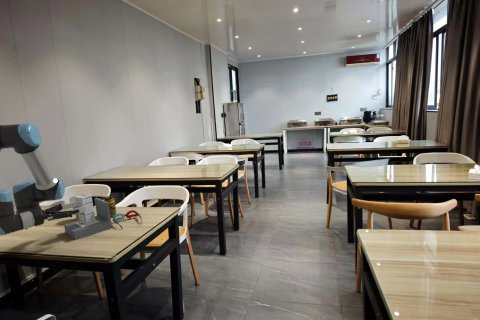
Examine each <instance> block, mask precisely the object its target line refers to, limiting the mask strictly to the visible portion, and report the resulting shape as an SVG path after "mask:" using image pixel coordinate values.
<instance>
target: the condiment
mask: <svg viewBox="0 0 480 320" xmlns="http://www.w3.org/2000/svg"><path fill="white" fill-rule="evenodd" d="M103 200H104V201H106V202H108V203H109V210H110V217H111V219H113V216H114V215H115V214H117V208H116V202H115V198H114V196H113V195H108V196H106V195H105V196H104V197H103ZM116 218H119V216H117V217H116Z"/></svg>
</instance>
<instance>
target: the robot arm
mask: <svg viewBox="0 0 480 320" xmlns="http://www.w3.org/2000/svg"><path fill="white" fill-rule="evenodd" d="M41 143H42V135H41V132H40V130H39V128H38V127H37V126H36V125H35V124H33V123H24V122H23V123H19V124H18V123H16V124H0V152H1V151H2V150H4V149H13V150H14V152H15V153H16V154H18V155H20V156H21V157H22V159H23V161H24V163H25V164H26V166H27V168H28V170H29V172H30V173H31V175H32V177H33V179H32V180H27V181H22V182H20V183H16V184H14V185H13V186H12V193H11V191H10V190H9V189H0V237H1V236H6V235H8V234H13V233H15V232H18V231H19V232H20V231H23V230H25V231H27V230H28V229H30V228H33V227H38V226H42V225H43V224H44V223H45V220H47V222H51V221H55V220H61V219H66V218H67V219H69V218H73V216H74V215H75V214H79V213H82V212H86V207H85V206H83V207H79V208H75V209H73V208H74V207H77V206H76V201H73V202H69V203H64V204H62V203H58V204H56V205H54V206H50V207H48V208H45V209H42V207H41V205H40V202H51V201H58V200H62V199H63V198H64V195H65V192H66V191H65V190H66V187H65V181H64V180H62V179H58V177H57V176H56V175H53V174H52V172H51V170H50V168H49V166H48V164H47V162H46V160H45V158H44V156H43V154H42V152H41V150H40V146H41ZM12 195H13V196H12ZM12 197H13V198H12ZM13 200H14V201H13ZM14 205H15V207H14ZM69 209H70V210H69ZM15 210H16V211H15ZM75 216H76V215H75Z"/></svg>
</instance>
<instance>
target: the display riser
mask: <svg viewBox="0 0 480 320" xmlns="http://www.w3.org/2000/svg"><path fill="white" fill-rule="evenodd" d="M94 206H95V211H96V215H95V220H96V221H94V222H92V223H90V224H80V223H79V220H77V221H73V222H70V223H66V224H63V227H64V228H63V229H64V233H66V235H68V236H70V237H71V238H72V239H74V240H79V239H83V238H85V237H86V238H87V237H88V236H91V235H95V234H98V233H101V232H103V231H107V230H109V229H110V230H111V229H113V225H112V218H111V217H110V210H109V203H108V202H106V201H104V199H101V198H98V197H94Z"/></svg>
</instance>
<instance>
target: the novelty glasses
mask: <svg viewBox="0 0 480 320" xmlns="http://www.w3.org/2000/svg"><path fill="white" fill-rule="evenodd" d="M117 216H118V217H117ZM119 216H120V217H119ZM136 217H139V218H140V221H141V222H140V224H143V222H142V221H143V219H142V215H141V214H140V213H139V212H137V211H136V210H135V209H131V210H128V211H127V212H126V213H125V214H123V213H121V212H119V213H117V212H116V214H115V215H114V216H113V218H112V222H113V223H115V224H117V225H118V226H119V227H120V228H121V230H123V229H124V228H123V227H122V225H121V224H120V223H119V221H122V220H124V219H126V218H127V219H129V220H131V218H136Z"/></svg>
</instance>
